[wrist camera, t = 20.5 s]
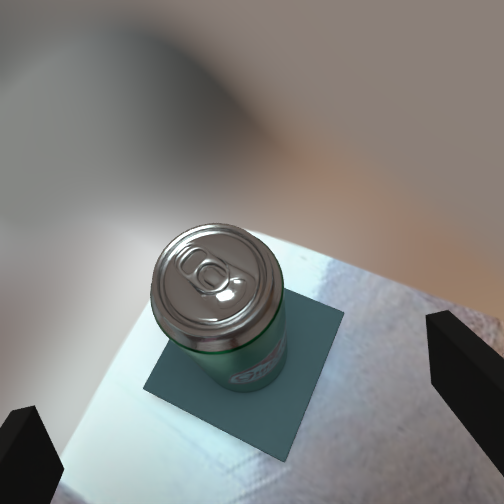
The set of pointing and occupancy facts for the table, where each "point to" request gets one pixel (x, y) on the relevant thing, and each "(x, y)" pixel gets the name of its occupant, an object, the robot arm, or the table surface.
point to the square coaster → (262, 401)
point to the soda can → (223, 305)
